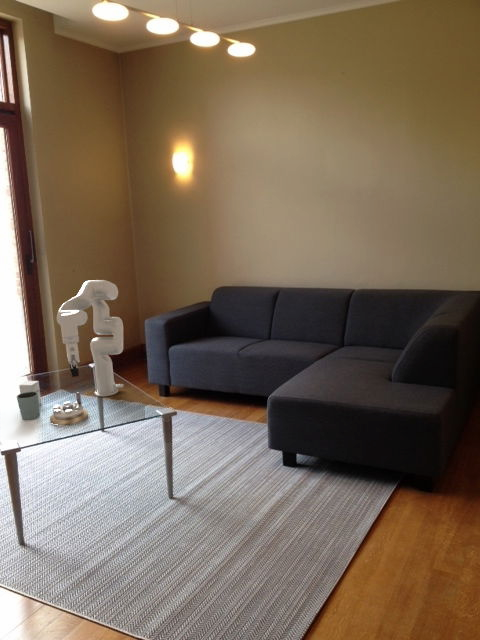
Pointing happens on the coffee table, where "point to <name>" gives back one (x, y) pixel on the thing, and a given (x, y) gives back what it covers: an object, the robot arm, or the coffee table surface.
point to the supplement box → (31, 388)
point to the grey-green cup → (28, 405)
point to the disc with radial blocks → (69, 409)
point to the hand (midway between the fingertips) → (74, 373)
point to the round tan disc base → (70, 421)
